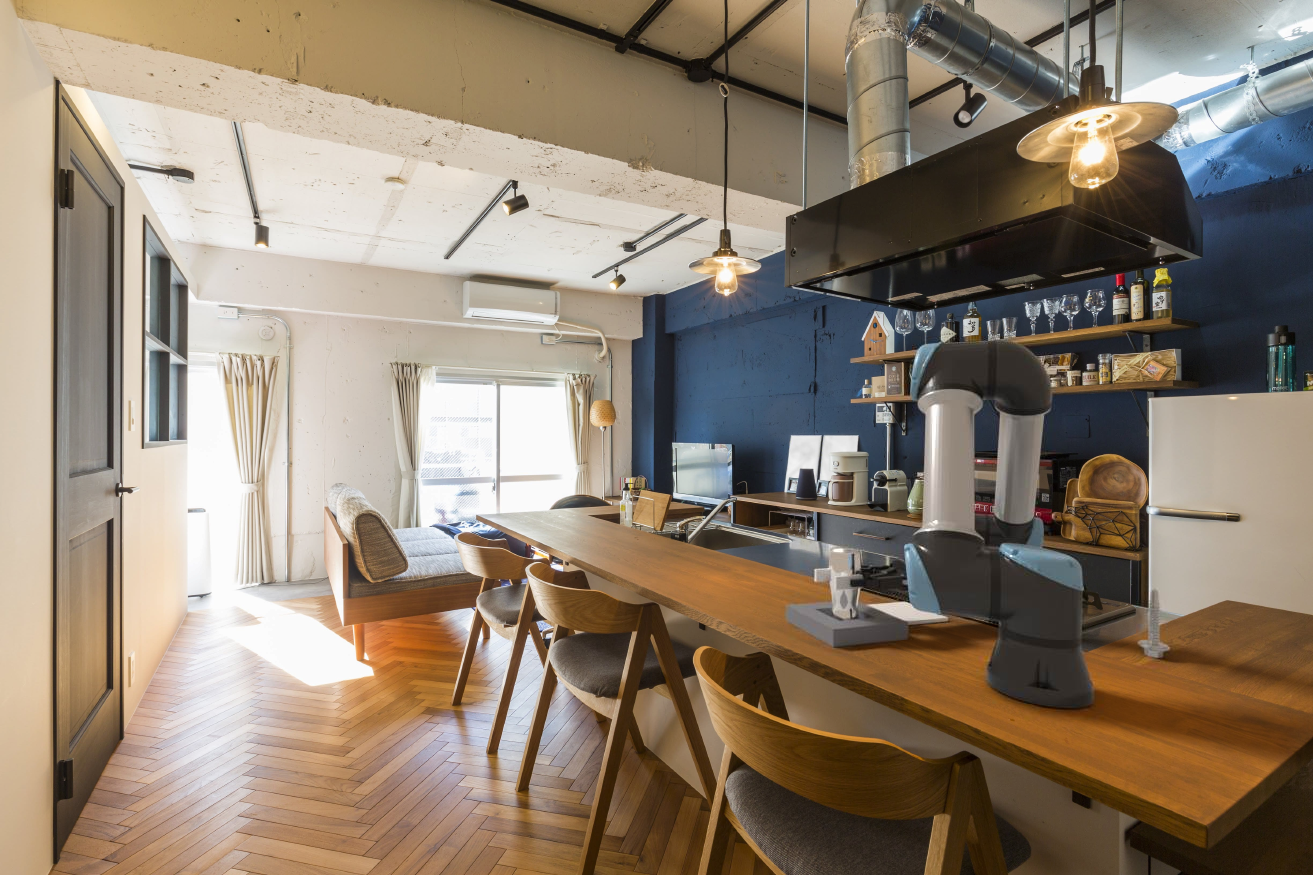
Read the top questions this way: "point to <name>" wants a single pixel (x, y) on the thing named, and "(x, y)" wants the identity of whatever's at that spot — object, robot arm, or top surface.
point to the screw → (1154, 630)
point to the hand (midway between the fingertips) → (825, 579)
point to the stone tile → (909, 613)
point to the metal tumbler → (847, 599)
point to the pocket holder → (846, 624)
